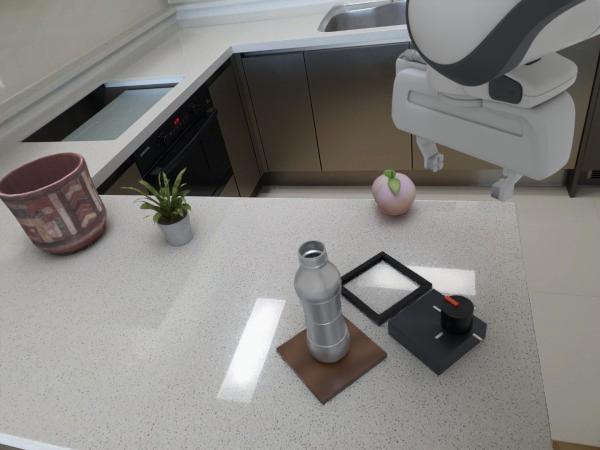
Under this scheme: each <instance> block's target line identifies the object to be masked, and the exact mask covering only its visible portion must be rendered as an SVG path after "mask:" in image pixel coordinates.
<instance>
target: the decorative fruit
mask: <svg viewBox="0 0 600 450" xmlns="http://www.w3.org/2000/svg"><path fill="white" fill-rule="evenodd" d="M382 173H383V174H381V175H379V176H378V177H377V178H376V179H375V180H374V181H373V183H372V185H371V194H372V197H373V199H374V202H375V203H376V204H377V206H378V207H379V209H380V210H381V211H382V212H383V213H385V214H387V215H389V216H400V215H402V214H404V213H406V212H407V211H408V210H409V209H410V208H411V207H412V205H413V203H414V202H415V199H416V196H417V190H416V186H415V183H414V182H413V181H412V179H410V177H408V176H407V175H406V174H404V173H400V172H396V171H395V170H393V169H386V170H384V171H383V172H382Z"/></svg>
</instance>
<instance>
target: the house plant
mask: <svg viewBox="0 0 600 450" xmlns="http://www.w3.org/2000/svg"><path fill="white" fill-rule="evenodd" d="M186 169H187V167H184V168H183V169H181V171H180V172H179V173H178V174H177V177H176V178H175V181H174V183H173V186H172V192H171V191H170V186H169V181H170V180H171V178H169V179H168V178H167V175H166V174H165V172H164V171H162V177H163V183H164V187H162V184H161V172H158V184H159V191H157V189H155V188H154V187H153V186H152V185H151V184H150V183H149V182H147V181H146V180H143V179H140V180H138V182H139V183H140V184H141V185H142V186H144V187H145V188H146V189H147V190H148V191H149V192H151V194H153V195H154V197H155V198H156V199H154V198H152V197H150V196H149V195H147V193H145V192H143V191H142V190H140V189H138V188H136V187H131V186H124V187H123V186H122V187H121V189H130V190H133V191H135V192H138V193H140V194H141V195H143V196H144V199H145V200H148V201H150V202H153V203H154V204H156V205H154V204H153V203H150V202H147V201H145V200H141V199H142V197H140V198H139V197H138V198H137V199H135V200H134V201H133V202H132V203H131V205H134V204H135V203H137V202H140V203H141V202H142V204H141V205H140V206H139V210H152V211H154V212H156V213H155V214H154V215H153V216H152V221H153V224H154V226H156V225H157V226H158V228H159V230H160V231H161V232H162V234H163V235H164V237H165V238H166V240H167V241H168V243H169V244H170V245H171V246H172V247H181V246H184V245H186V244H188V243H189V242H191V241H192V240H193V238H194V234H193V229H192V222H191V217H190V212H191V213H193V211H192V206H191V204H189V203H187V199H186V198H185V197H186V196H187V194H188V193H190V192H191V190H192V189H186V190H183V191H180V192H179V188H181V187H183V186H185V185H188V183H186V182H185V183H183V184H181V185H180V183H181V181H182V176H183V175H184V173H185V171H186ZM148 217H149V215H146V216H144V217H143V218H142V220H144V219H146V218H148Z"/></svg>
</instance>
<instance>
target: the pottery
mask: <svg viewBox="0 0 600 450" xmlns="http://www.w3.org/2000/svg"><path fill="white" fill-rule="evenodd" d="M85 159H86V158H84V156H83V155H82V154H81V153H77V152H72V151H70V152H69V151H68V152H57V153H53V154H48V155H43V156H41V157H38V158H35V159H32V160H30V161H28V162H26V163H23V164H22V165H19V166H18V167H16V168H14V169H12V170H11V171H10V172H8V173H7V174H5V175H4V176H3V177H2V178H1V179H0V200H1V201H2V202H3V204H4V205H5V206H6V208H7V209H8V211H10V213H11V214H12V215H13V216H14V218H15V219H16V221H17V222H18V224H19V225H20V226H21V229H22V230H23V231H24V233H25V234H26V237H28V239H29V240H30V242H31V243H32V244H33V245H34V246H35V247H36V248H37V249H40V250H42V251H44V252H46V253H49V254H54V255H58V256H67V255H71V254H77V253H78V252H81V251H83V250H86V249H87V248H88V247H90V246H92V245H93V244H94V243H95V242H96V241H98V240H99V238H100V236H101V235H102V234H103V232H104V230H105V228H106V222H107V215H108V213H107V208H106V206H105V203H104V202H103V200H102V198H101V196H100V194H99V192H98V190H97V188H96V186H95V183H94V180H93V178H92V176H91V174H90V171H89V167H88V164H87V162H86V160H85Z"/></svg>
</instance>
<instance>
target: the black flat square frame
mask: <svg viewBox="0 0 600 450" xmlns="http://www.w3.org/2000/svg"><path fill="white" fill-rule="evenodd" d="M381 262H384V263H386V264H387V265H388V266H390V267H391V268H393V269H395V271H397V272H398V273H400V274H402V275H403V276H405V277H406V278H408V279H409V280H410V281H412V282H413V283H414V284H417V286H418V287H417V288H415V289H414V290H412V291H411V292H409V293H407V295H405V296H403V298H401V299H399V300H398V301H396V302H395V303H394V304H392V305H391V306H389V307H388V308H386V309H385V310H384V311H382V312H380V313H377V312H376V311H375V310H374V309H373V308H371V307H370V306H369V305H367V303H365V302H364V301H363V300H361V299H360V298H359V297H358V296H357V295H355V294H354V292H352V291H351V290H349V289H348V288H347V287H346V286H345V285H347V284H348V283H350V282H351V281H353V280H354V279H356V278H358V277H359V276H361V275H363V274H364V273H365V272H367V271H368V270H370V269H372V268H373V267H375V266H377V265H378V264H380V263H381ZM432 289H433V283H432V282H431V281H429V280H427V278H424V277H423V276H421V275H420V274H418V272H415V271H414V270H413V269H411V268H409V267H408V266H406V265H405V264H403V263H402V262H400V261H399V260H397V259H396V258H394V257H393V256H392V255H389V253H386V252H385V251H383V250H381V251H380V252H378V253H376V254H375V255H373V256H372V257H370V258H369V259H367V260H366V261H364V262H363V263H361V264H359V265H357V266H356V267H354V268H353V269H351V270H350V271H348V272H346V273H344V274H343V275H341V297H343V298H345V299H346V300H347V301H348V302H349V303H350V304H351V305H353V306H354V307H355V308H357V310H359V311H360V312H361V313H363V314H364V316H366V317H367V318H368V319H369V320H371V321H372V322H373V323H374V324H376V325H377V326H378V327H380V326H382V325H384V324H385V323H387V322H388V320H390V319H391V318H393V317H394V316H395V315H397V314H398V313H400V312H401V311H402V310H404V309H405V308H407V307H408V306H409V305H411V304H412V303H414V302H415V301H417V300H418V299H419V298H421V297H422V296H424V295H425V294H426V293H428V292H429V291H431V290H432Z"/></svg>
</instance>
